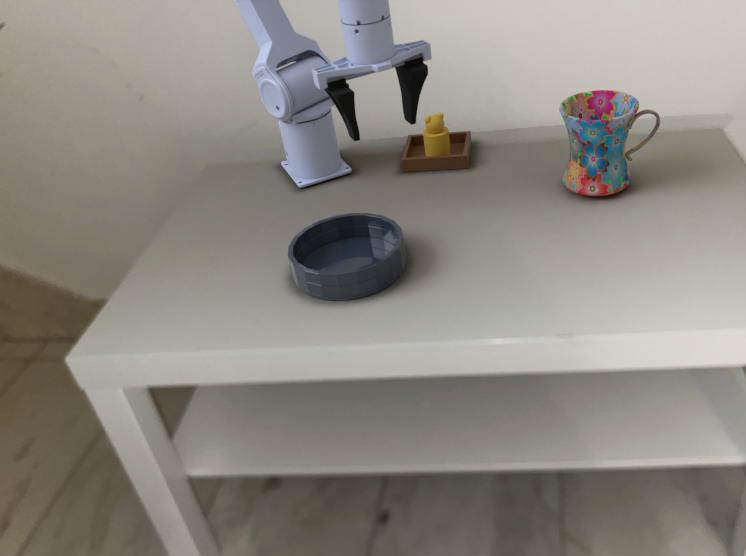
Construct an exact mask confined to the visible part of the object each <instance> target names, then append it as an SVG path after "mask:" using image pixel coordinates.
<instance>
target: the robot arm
mask: <svg viewBox="0 0 746 556" xmlns="http://www.w3.org/2000/svg"><path fill="white" fill-rule="evenodd" d="M232 1H233V3H234V5H235V7H236V9H237V11H238V12H239V14H240V16H241V18H242V20H243V23H244V24H245V26H246V27H247V30H248V31H249V33H250V35H251V36H252V39H253V40H254V42H255V44H256V46H257V48H258V50H259V53H258V55H257V57H256V60H255V63H254V65H253V68H252V72H251V75H252V78H253V79H254V81H255V83H256V86H257V89H258V94H259V98H260V100H261V103H262V106H263V107H264V109H265V110H266V111H267V112H268V113H269V115H271V116H272V117H273V118H274V119H275V120H277V121H278V128H279V132H280V136H281V141H282V144H283V149H284V153H285V158H286V160H282V161H281V162H280V165H281V167H282V168H283V170H284V171H285V172H286V173H287V175H288V176H289V177H290V178H291V179H292V180H293V182H294V183H295V184H296V186H297V187H298V188H300V189H302V188H306V187H309V186H313V185H315V184H320V183H322V182H326V181H329V180H332V179H335V178H339V177H341V176H345V175H349V174H351V173H352V172H353V169H352V168H351V167H350V165H348V164H347V163H346V161H344V159H343V158H342V157H341V153H340V148H339V143H338V137H337V132H336V126H335V122H334V121H335V120H334V116H333V111H332V107H333V106H335V108H336V109H337V111H338V113H339V114H340V117H341V119H342V121H343V123H344V125H345V128H346V130H347V133H348V136H349V138H350V139H351V140H352V141H354V142H358V141H361V135H360V133H361V132H360V128H359V125H358V124H359V123H358V120H357V115H356V103H355V102H356V101H355V91H354V90H352V89H351V88H350V84H349V83H348V82H347V81H350V80H354V79H357V78H362V77H365V76H369V75H373V74H375V73H381V72H385V71H388V70H391V69H394V68H395V72H396V76H397V80H398V85H399V90H400V95H401V104H402V105H401V106H402V112H403V117H404V120H405V122H407V123H408V124H410V126H412V125H416V124H417V117H418V116H417V114H418V108H419V102H420V97H421V94H422V90H423V87H424V84H425V82H426V80H427V77H428V75H429V67H428V64H426V63H424V62H427V61H430V60H432V58H433V57H432V48H431V43H430V42H428V41H426V40H424V39H421V40H416V41H410V42H403V43H397V44H395V39H394V33H393V32H394V31H393V25H392V23H393V22H392V18H391V17H392V15H391V10H390V1H389V0H337V7H338V12H339V17H340V23H341V29H342V34H343V40H344V46H345V47H344V48H345V53H346V56H343V57H340V58H338V59H336V60H334V61H331V60H330V58H328V57H327V56H326V55H325V54H324V52H323V51H322V50H321V47H320V45H319V44H318V42H317V40H315V39H312V38H310V37H308V36H305V35H302V34H301V33H299V32H296V31H295V29H294V27H293V25H292V23H291V21H290V19H289V17H288V15H287V14H286V11H285V10H284V8H283V6H282V4H281V3H280V0H232ZM283 66H284V67H283Z"/></svg>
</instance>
